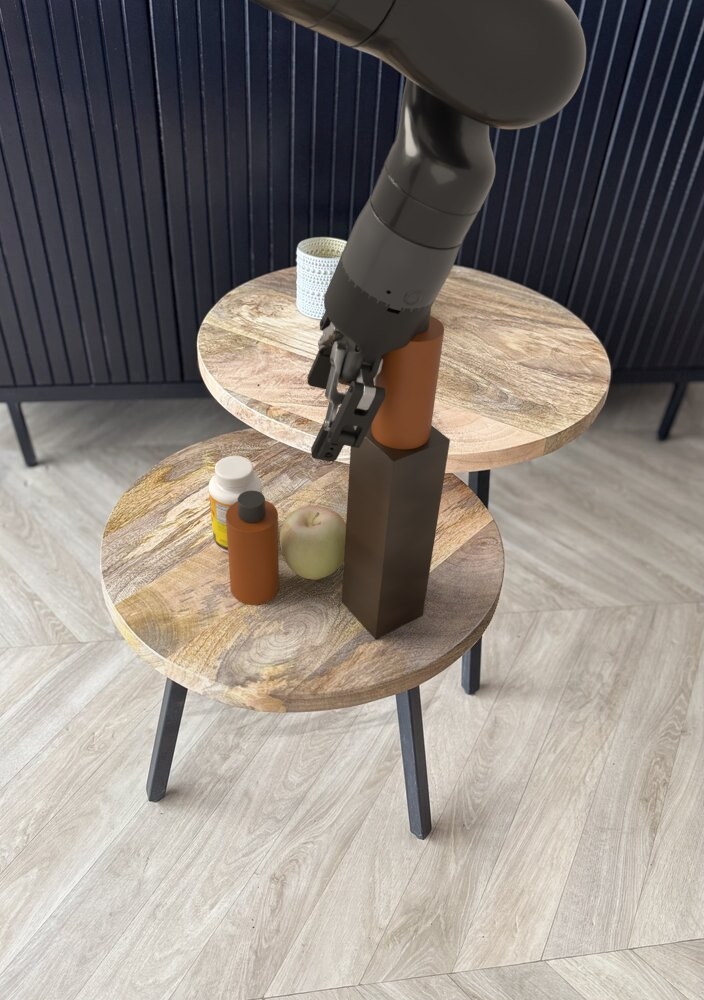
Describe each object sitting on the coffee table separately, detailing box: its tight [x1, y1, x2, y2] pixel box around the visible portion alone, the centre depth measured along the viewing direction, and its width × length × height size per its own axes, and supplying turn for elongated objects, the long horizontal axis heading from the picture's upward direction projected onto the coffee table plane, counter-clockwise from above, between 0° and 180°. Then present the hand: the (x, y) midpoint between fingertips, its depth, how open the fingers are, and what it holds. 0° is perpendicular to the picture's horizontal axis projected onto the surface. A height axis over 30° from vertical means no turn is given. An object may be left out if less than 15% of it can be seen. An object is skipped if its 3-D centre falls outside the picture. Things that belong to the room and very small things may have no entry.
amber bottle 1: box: [226, 491, 280, 606], centre depth 80 cm, size 5×5×12 cm
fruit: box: [279, 504, 346, 581], centre depth 84 cm, size 8×7×8 cm
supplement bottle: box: [208, 455, 263, 554], centre depth 86 cm, size 6×6×10 cm
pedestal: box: [341, 424, 451, 640], centre depth 76 cm, size 6×6×22 cm
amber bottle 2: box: [371, 307, 445, 450], centre depth 65 cm, size 5×5×12 cm
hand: (319, 419), depth 70 cm, fingers open, 8 cm apart
